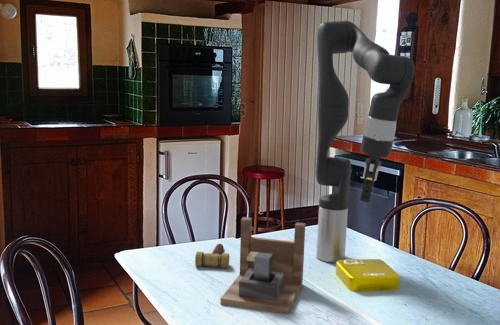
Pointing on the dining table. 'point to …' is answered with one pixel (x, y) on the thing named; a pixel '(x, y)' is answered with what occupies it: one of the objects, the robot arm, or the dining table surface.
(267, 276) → the tan-topped grey pillar
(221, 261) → the gavel
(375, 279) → the element tile
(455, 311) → the dining table surface
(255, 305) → the wooden peg insertion stand
